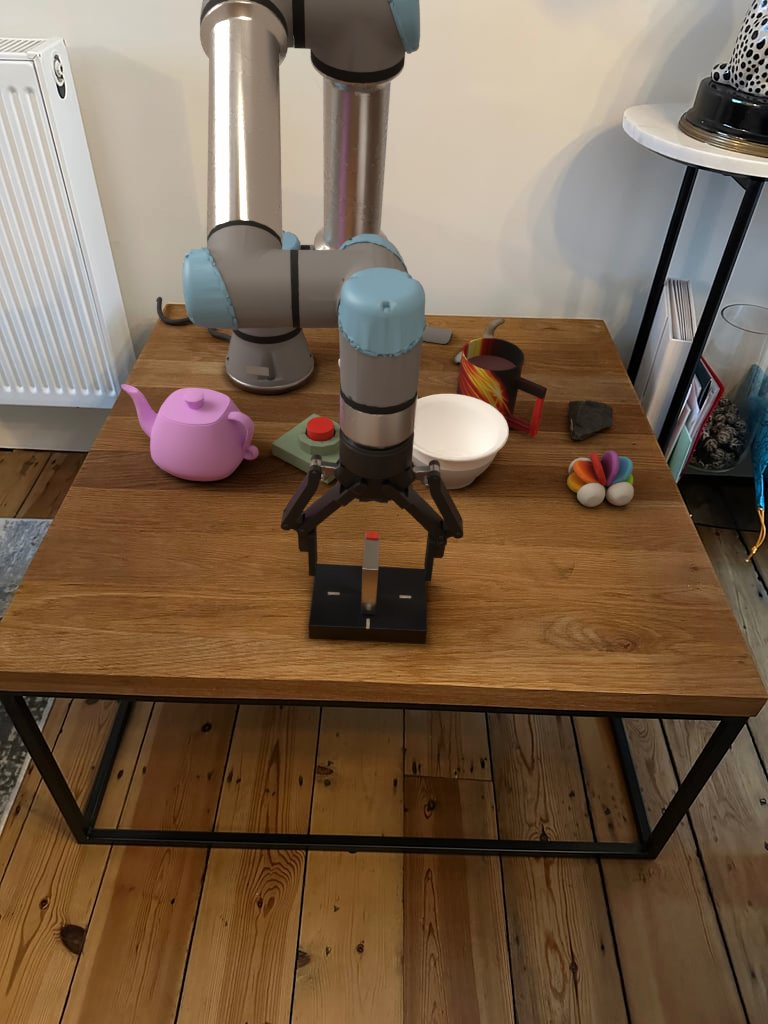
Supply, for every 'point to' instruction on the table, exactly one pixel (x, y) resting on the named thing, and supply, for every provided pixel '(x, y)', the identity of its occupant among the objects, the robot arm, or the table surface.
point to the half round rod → (436, 335)
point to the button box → (306, 447)
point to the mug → (499, 380)
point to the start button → (320, 429)
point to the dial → (370, 573)
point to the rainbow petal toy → (602, 479)
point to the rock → (588, 418)
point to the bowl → (457, 436)
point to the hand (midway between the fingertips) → (370, 570)
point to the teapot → (196, 433)
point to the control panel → (395, 606)
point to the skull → (486, 333)
